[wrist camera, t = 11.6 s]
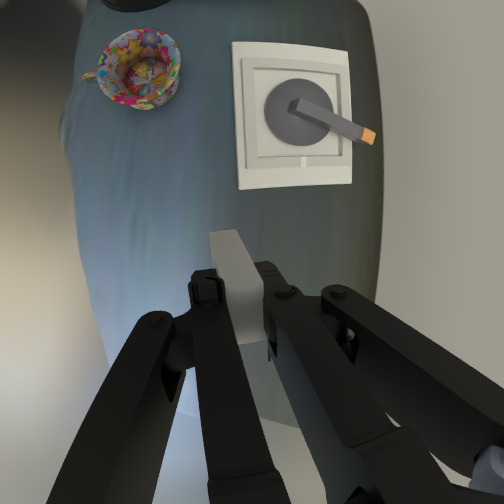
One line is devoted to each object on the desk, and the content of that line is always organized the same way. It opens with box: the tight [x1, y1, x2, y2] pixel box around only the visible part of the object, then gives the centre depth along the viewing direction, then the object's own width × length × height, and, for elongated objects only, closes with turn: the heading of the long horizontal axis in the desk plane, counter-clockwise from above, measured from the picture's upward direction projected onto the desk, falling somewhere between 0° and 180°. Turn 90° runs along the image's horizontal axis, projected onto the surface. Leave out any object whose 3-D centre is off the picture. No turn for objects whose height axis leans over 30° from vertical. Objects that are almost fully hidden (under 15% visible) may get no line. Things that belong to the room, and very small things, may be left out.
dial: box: [264, 78, 376, 146], centre depth 36 cm, size 15×10×6 cm, turn 72°
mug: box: [82, 28, 181, 110], centre depth 29 cm, size 12×9×11 cm
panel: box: [231, 42, 352, 190], centre depth 38 cm, size 22×18×3 cm
